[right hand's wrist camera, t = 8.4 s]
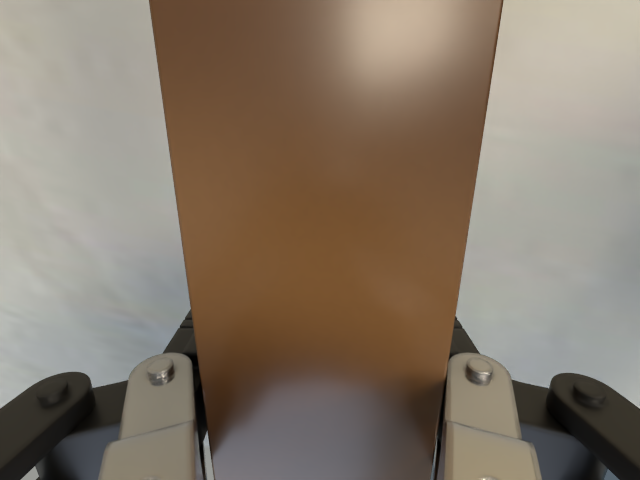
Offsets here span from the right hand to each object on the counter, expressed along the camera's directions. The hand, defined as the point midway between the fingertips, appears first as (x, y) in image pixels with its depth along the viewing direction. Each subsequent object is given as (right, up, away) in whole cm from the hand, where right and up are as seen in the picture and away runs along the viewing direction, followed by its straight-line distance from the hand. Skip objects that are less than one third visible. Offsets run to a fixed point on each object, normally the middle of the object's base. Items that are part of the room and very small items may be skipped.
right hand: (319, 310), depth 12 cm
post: (0, +30, -8) cm, 31 cm away
